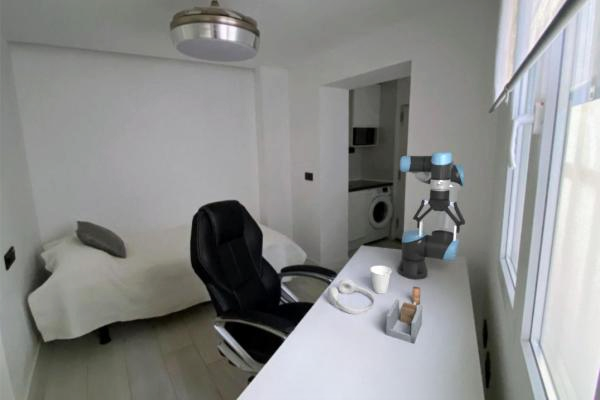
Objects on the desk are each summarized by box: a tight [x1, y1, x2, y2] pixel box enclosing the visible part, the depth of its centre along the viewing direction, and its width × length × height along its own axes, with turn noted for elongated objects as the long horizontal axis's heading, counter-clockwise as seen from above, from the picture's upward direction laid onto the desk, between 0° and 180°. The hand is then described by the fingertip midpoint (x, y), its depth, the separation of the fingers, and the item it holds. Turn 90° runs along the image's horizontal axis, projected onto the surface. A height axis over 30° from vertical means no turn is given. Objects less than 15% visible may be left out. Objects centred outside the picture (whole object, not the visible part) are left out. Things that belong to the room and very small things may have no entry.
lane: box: [385, 299, 423, 344], centre depth 113 cm, size 13×10×8 cm
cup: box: [369, 265, 392, 295], centre depth 142 cm, size 10×10×11 cm
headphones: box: [326, 278, 375, 315], centre depth 135 cm, size 7×18×20 cm
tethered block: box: [400, 286, 421, 326], centre depth 125 cm, size 19×5×7 cm, turn 148°
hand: (437, 237), depth 130 cm, fingers open, 13 cm apart
